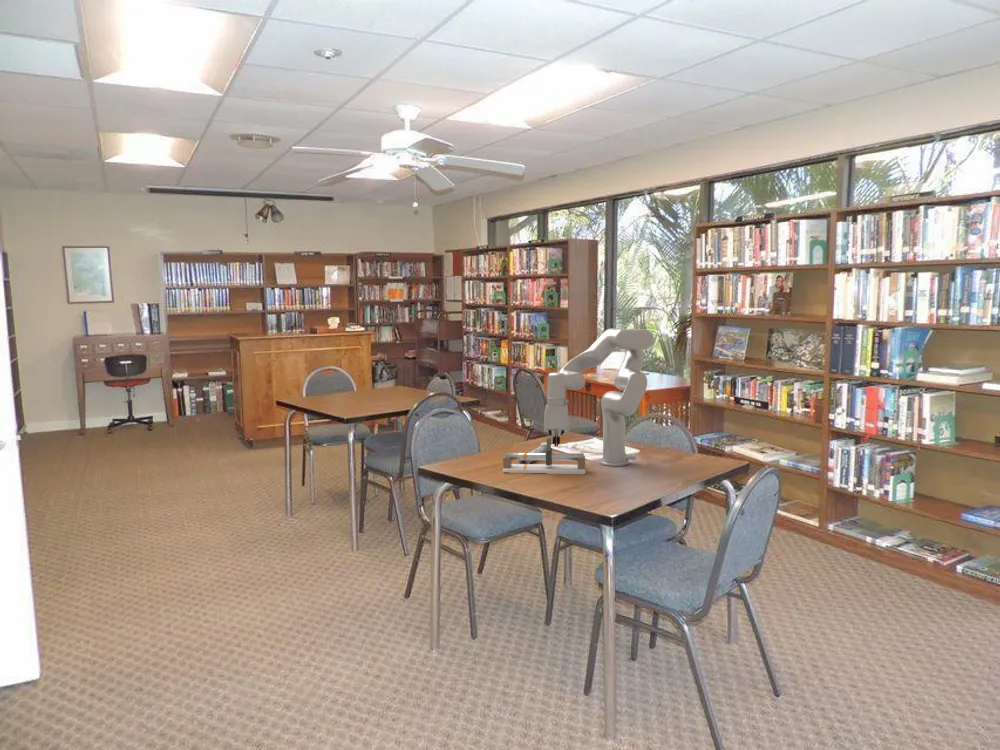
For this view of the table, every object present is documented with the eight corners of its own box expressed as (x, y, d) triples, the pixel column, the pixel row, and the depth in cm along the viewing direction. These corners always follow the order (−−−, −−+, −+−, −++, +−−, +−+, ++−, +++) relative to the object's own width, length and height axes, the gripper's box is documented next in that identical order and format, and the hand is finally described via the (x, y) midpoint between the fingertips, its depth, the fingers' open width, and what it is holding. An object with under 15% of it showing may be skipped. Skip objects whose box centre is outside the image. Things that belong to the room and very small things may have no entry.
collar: (551, 462, 297) (551, 436, 296) (551, 465, 291) (551, 439, 290) (546, 462, 297) (546, 436, 296) (545, 465, 291) (545, 439, 290)
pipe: (583, 459, 294) (583, 452, 294) (583, 461, 291) (583, 454, 291) (505, 459, 297) (505, 451, 297) (504, 460, 294) (504, 453, 294)
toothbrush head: (517, 456, 305) (541, 438, 326) (518, 471, 306) (542, 452, 327) (528, 458, 302) (552, 439, 323) (528, 472, 304) (552, 453, 325)
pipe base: (584, 468, 298) (584, 454, 298) (585, 474, 288) (585, 459, 288) (504, 467, 301) (504, 453, 301) (502, 473, 291) (502, 459, 291)
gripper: (574, 401, 294) (574, 444, 296) (538, 400, 295) (538, 443, 297) (574, 403, 287) (574, 447, 289) (538, 403, 288) (538, 447, 290)
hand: (556, 445), depth 293 cm, fingers closed
